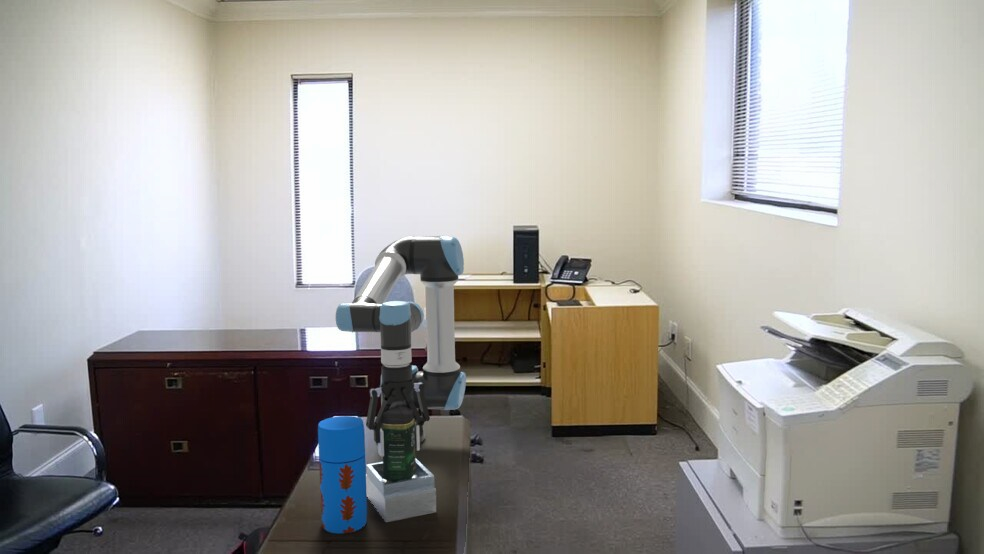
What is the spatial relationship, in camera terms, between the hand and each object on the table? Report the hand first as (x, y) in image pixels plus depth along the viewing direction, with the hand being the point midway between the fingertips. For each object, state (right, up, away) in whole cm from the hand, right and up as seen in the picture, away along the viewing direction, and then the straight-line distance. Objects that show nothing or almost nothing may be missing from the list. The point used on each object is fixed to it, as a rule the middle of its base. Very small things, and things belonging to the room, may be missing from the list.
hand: (399, 451), depth 192 cm
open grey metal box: (0, -14, +2) cm, 14 cm away
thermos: (-12, -15, -9) cm, 21 cm away
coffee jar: (0, -7, +1) cm, 7 cm away
